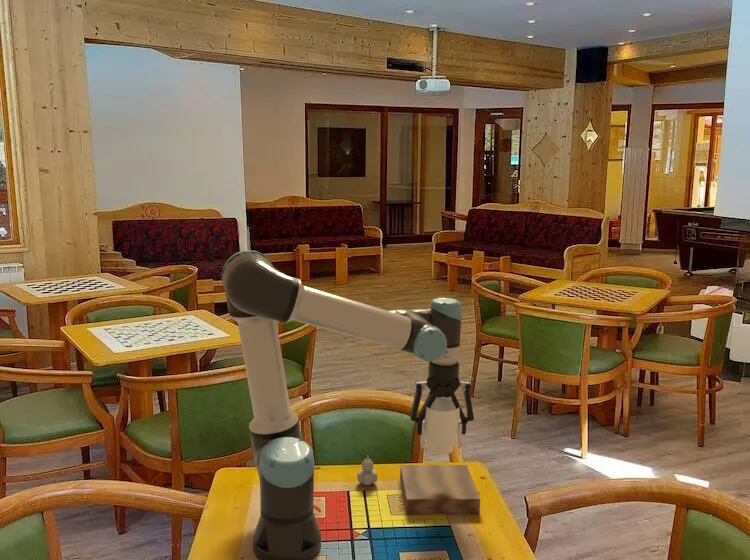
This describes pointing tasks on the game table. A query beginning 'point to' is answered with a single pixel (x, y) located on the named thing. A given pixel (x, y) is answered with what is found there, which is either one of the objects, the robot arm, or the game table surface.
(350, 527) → the game table surface
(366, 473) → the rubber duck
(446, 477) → the walnut base
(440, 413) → the cup
